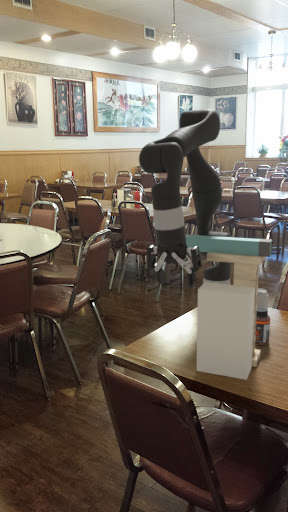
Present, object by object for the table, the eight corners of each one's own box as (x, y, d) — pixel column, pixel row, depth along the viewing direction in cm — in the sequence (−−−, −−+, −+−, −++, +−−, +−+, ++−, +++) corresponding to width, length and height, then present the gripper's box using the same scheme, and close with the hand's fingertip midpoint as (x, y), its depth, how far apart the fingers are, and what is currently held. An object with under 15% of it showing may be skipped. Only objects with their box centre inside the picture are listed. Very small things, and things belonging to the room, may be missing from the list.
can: (252, 326, 163) (253, 293, 161) (242, 319, 170) (243, 287, 168) (271, 324, 165) (273, 292, 163) (260, 317, 172) (262, 286, 170)
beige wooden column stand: (211, 348, 146) (214, 248, 139) (260, 355, 141) (265, 251, 133) (204, 358, 139) (206, 253, 132) (255, 367, 133) (260, 257, 126)
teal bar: (183, 247, 141) (183, 234, 140) (271, 253, 131) (272, 239, 130) (178, 250, 137) (178, 236, 136) (269, 256, 127) (270, 242, 126)
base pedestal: (203, 360, 138) (205, 282, 132) (251, 368, 132) (254, 287, 127) (196, 370, 131) (197, 289, 126) (246, 379, 126) (250, 294, 121)
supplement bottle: (246, 342, 150) (247, 309, 148) (256, 337, 154) (257, 304, 152) (262, 347, 146) (264, 313, 144) (272, 342, 150) (274, 308, 148)
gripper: (201, 220, 116) (207, 281, 121) (151, 220, 123) (159, 277, 128) (189, 229, 110) (196, 292, 115) (137, 228, 117) (146, 288, 122)
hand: (176, 284), depth 122 cm, fingers open, 8 cm apart
